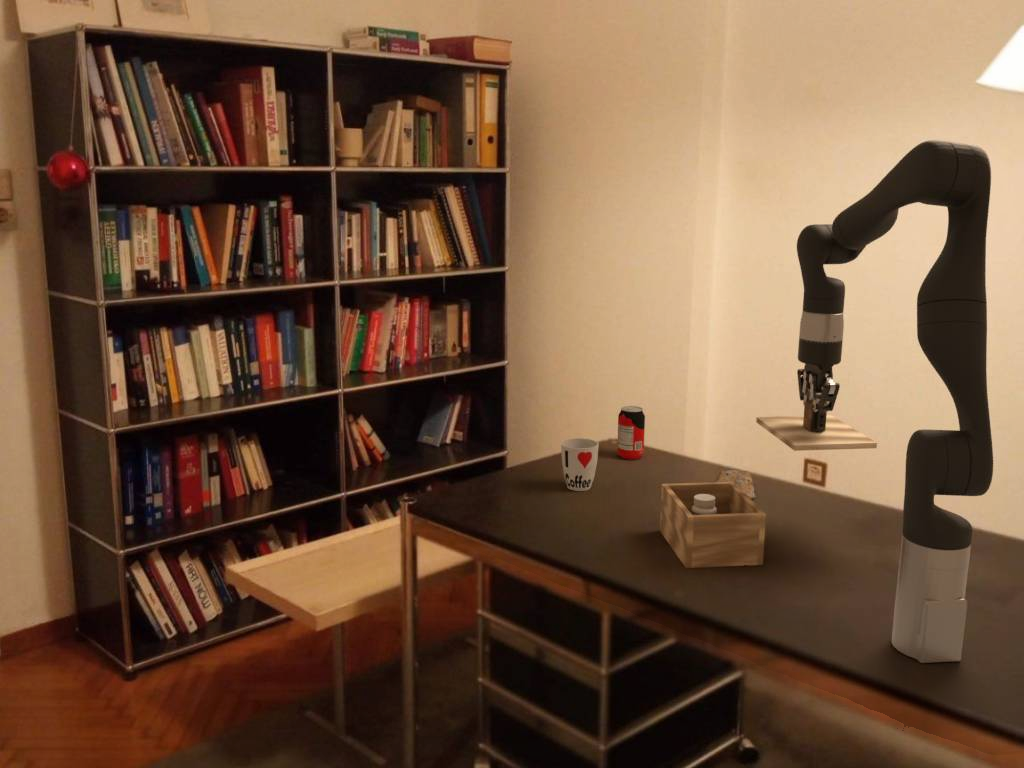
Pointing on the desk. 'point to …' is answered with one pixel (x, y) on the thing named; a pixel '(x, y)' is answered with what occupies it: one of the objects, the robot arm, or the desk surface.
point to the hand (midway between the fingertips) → (814, 428)
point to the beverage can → (631, 432)
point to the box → (712, 526)
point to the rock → (738, 480)
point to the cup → (579, 462)
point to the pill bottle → (703, 505)
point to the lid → (802, 437)
